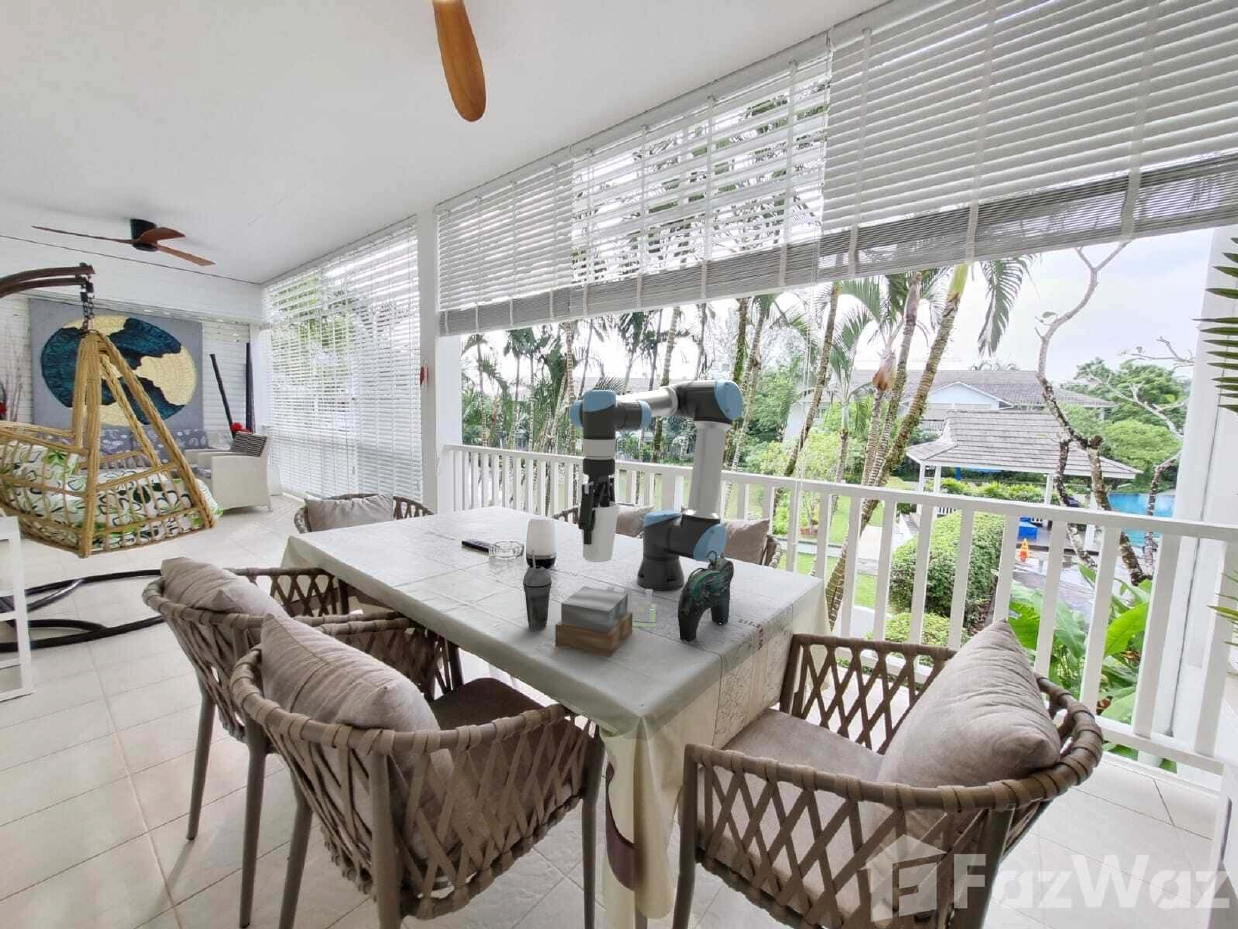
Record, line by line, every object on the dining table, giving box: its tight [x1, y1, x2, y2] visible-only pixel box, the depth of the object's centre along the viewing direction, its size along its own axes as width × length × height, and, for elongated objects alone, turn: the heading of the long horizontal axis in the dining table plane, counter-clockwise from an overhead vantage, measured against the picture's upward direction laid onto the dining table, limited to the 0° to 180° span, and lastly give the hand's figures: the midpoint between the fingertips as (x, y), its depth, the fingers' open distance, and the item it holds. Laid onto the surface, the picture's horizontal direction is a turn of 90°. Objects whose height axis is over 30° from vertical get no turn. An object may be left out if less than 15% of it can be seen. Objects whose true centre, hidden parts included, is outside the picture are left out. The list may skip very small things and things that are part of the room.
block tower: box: [554, 586, 633, 658], centre depth 120 cm, size 14×14×10 cm
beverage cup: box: [522, 549, 553, 631], centre depth 125 cm, size 7×7×20 cm
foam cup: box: [577, 501, 620, 563], centre depth 117 cm, size 10×9×13 cm
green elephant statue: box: [677, 550, 735, 643], centre depth 125 cm, size 20×6×20 cm, turn 136°
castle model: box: [606, 586, 658, 628], centre depth 135 cm, size 15×15×7 cm
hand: (598, 551), depth 118 cm, fingers closed on foam cup, 9 cm apart
